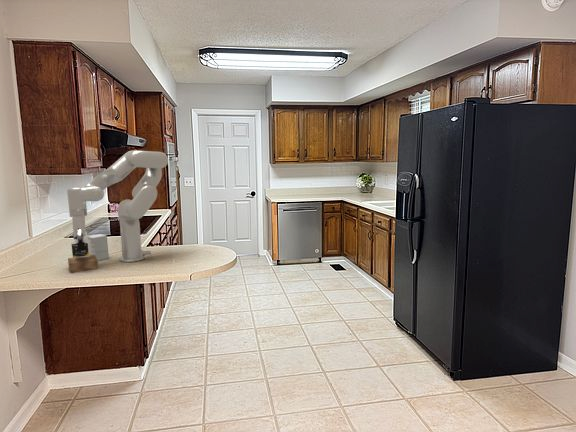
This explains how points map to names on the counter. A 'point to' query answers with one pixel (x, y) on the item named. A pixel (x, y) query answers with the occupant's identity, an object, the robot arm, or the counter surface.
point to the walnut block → (82, 264)
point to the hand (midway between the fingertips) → (81, 248)
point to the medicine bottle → (87, 247)
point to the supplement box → (99, 246)
